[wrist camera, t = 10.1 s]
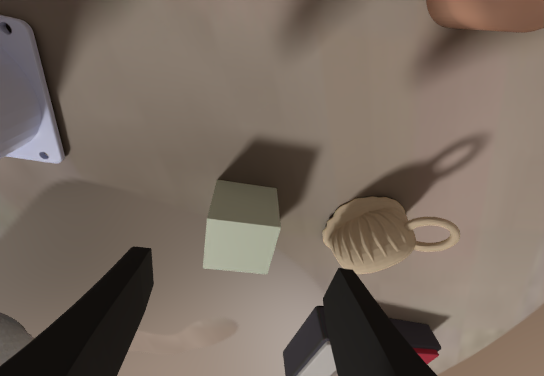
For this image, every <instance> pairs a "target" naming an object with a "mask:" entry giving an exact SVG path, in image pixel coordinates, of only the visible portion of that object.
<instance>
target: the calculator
mask: <svg viewBox="0 0 544 376" xmlns="http://www.w3.org/2000/svg"><path fill="white" fill-rule="evenodd" d="M389 319H390V318H389ZM390 321H391V322H392V323H393V324H394V326H395V327H396V328H397V329H398V331H399V332H400V333H401V334H402V336H403V337H404V338H405V339H406V341H407V342H408V343H409V344H410V345H411V347H412V348H413V349H414V350H415V351H416V353H417V354H418V355H419V356H420V357H421V358H422V359H423V361H424V362H425V363H426V364H428V363H429V362H431V361H432V360H434V359H435V358H436V357H438V356H439V354H438V351H439V350H440V349H441V346H440V344H439V342H438V341H437V339H436V337H435V335H434V334H433V332H432V330H431V329H430V327H429V325H427V324H422V323H415V322H409V321H403V320H397V319H390ZM283 357H284V366H285V375H286V376H338V374H337V370H336V366H335V362H334V357H333V353H332V349H331V345H330V340H329V336H328V332H327V327H326V321H325V314H324V306H316V307H315V308H314V309H313V311H312V312H311V314H310V315H309V316H308V318H307V319H306V321H305V322H304V323H303V324H302V326H301V327H300V329H299V330H298V331H297V333H296V334H295V336H294V337H293V339H292V340H291V341H290V342H289V344H288V345H287V347H286V348H285V349H284V351H283Z"/></svg>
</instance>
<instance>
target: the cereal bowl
mask: <svg viewBox="0 0 544 376" xmlns="http://www.w3.org/2000/svg"><path fill="white" fill-rule="evenodd" d="M33 339H34V338H33V337H32V336H31V335H30V334H28V333H27V331H26V330H25V328H24V327H23V326H22V325H21V324H20V323H19V322H17V321H16V320H14V319H13V318H11V317H9V316H7V315H5V314H2V313H0V366H1V365H2V364H3V363H4V362H6V361H7V360H8V359H10V358H11V357H12V356H13V355H15V354H16V353H17V352H18V351H20V350H21V349H22V348H24V347H25V346H26V345H27V344H28V343H30V342H31V341H32V340H33Z"/></svg>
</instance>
